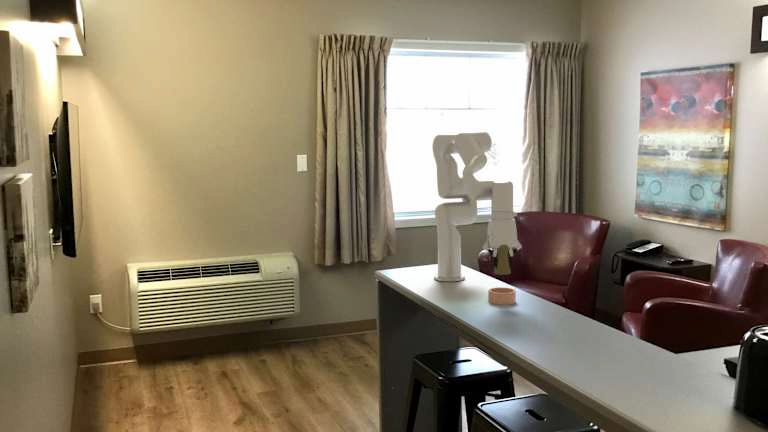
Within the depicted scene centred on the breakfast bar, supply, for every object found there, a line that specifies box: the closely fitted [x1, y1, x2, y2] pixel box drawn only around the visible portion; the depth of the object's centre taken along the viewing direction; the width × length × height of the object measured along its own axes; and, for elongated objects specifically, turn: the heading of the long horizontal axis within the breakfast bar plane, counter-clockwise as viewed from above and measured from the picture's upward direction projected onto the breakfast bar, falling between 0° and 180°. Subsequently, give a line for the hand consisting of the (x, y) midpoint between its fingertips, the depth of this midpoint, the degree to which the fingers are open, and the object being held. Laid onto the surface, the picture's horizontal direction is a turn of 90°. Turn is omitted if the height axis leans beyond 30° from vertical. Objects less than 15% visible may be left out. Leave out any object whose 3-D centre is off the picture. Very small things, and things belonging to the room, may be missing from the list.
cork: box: [493, 245, 512, 276], centre depth 244 cm, size 6×6×11 cm
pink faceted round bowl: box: [487, 286, 517, 306], centre depth 245 cm, size 9×9×4 cm
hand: (502, 266), depth 244 cm, fingers closed on cork, 4 cm apart
